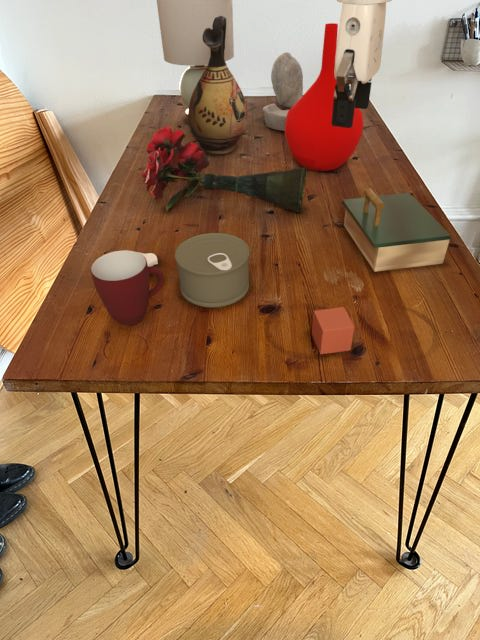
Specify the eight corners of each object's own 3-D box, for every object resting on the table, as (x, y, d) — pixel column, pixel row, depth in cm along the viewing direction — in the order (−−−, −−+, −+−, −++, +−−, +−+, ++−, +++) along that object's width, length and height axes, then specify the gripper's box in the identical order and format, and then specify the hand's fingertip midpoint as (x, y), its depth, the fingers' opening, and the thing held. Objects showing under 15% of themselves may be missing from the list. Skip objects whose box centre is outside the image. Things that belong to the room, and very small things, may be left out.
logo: (128, 254, 89) (112, 279, 83) (127, 251, 89) (111, 276, 83) (161, 257, 88) (147, 282, 82) (161, 253, 88) (146, 279, 82)
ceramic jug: (243, 160, 122) (239, 24, 103) (184, 158, 125) (170, 24, 105) (253, 136, 135) (251, 11, 116) (199, 135, 137) (189, 11, 118)
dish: (257, 122, 144) (257, 105, 141) (297, 114, 148) (298, 97, 145) (280, 137, 134) (280, 119, 131) (322, 128, 138) (324, 110, 135)
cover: (373, 248, 80) (378, 219, 76) (341, 203, 92) (344, 176, 89) (449, 239, 81) (458, 210, 78) (408, 196, 94) (414, 169, 90)
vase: (268, 163, 120) (269, 25, 101) (317, 144, 129) (327, 14, 110) (323, 186, 109) (336, 36, 90) (373, 163, 118) (395, 22, 99)
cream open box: (374, 271, 83) (378, 248, 80) (343, 225, 96) (346, 203, 92) (443, 263, 84) (449, 239, 81) (403, 218, 97) (408, 196, 94)
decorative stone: (299, 112, 150) (302, 59, 140) (267, 111, 152) (267, 58, 142) (305, 98, 161) (307, 47, 152) (274, 97, 163) (275, 47, 153)
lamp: (236, 129, 140) (230, -18, 117) (167, 131, 140) (148, -15, 118) (237, 108, 155) (232, -26, 132) (175, 110, 156) (160, -23, 133)
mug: (149, 289, 81) (139, 237, 75) (179, 309, 77) (171, 257, 70) (95, 318, 76) (79, 265, 69) (124, 342, 71) (110, 288, 65)
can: (230, 259, 87) (228, 226, 83) (263, 293, 79) (263, 258, 75) (168, 278, 83) (163, 244, 79) (197, 317, 75) (192, 281, 71)
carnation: (299, 238, 107) (148, 221, 111) (310, 161, 109) (162, 147, 113) (300, 212, 91) (125, 193, 95) (313, 123, 94) (142, 108, 98)
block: (340, 330, 72) (344, 306, 69) (350, 350, 68) (354, 326, 66) (311, 333, 71) (313, 310, 68) (320, 354, 68) (322, 331, 65)
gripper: (378, -3, 59) (359, 137, 70) (405, -20, 70) (385, 103, 82) (319, -5, 61) (310, 131, 72) (354, -20, 73) (342, 99, 84)
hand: (350, 116), depth 77 cm, fingers open, 9 cm apart
